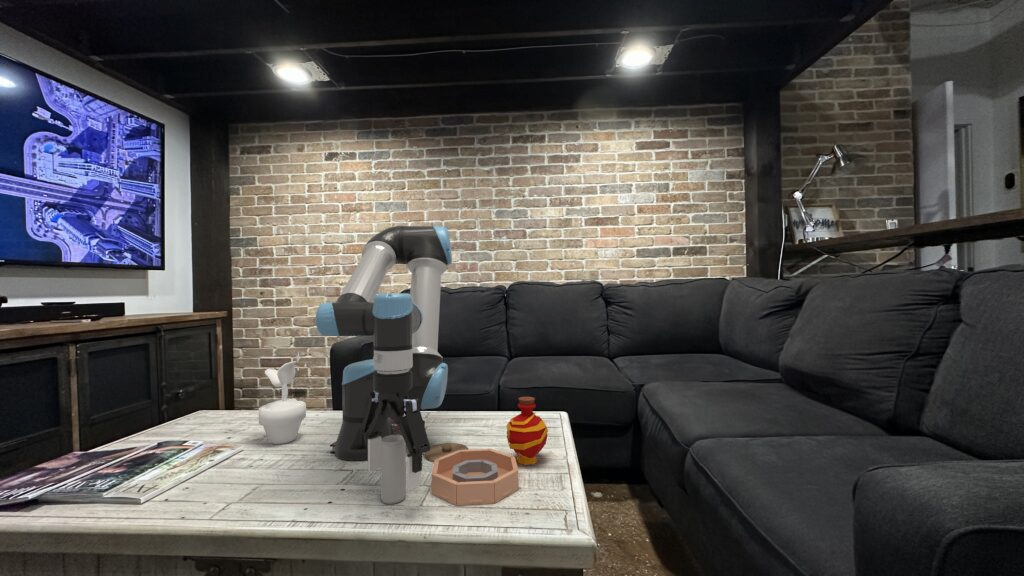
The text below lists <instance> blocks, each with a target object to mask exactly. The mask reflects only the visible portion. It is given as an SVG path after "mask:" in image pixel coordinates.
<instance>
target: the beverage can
mask: <svg viewBox="0 0 1024 576" xmlns="http://www.w3.org/2000/svg"><path fill="white" fill-rule="evenodd" d="M381 441H382V442H381V468H380V500H381V501H382V502H383V503H384V504H387V505H395V504H398V503H400V502H402V501H404V499H405V498H406V496H407V453H406V451H407V445H406V443H405V441H404V438H403V436H402V434H395V435H389V436H385V437H383V438H382V439H381Z"/></svg>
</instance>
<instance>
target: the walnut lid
mask: <svg viewBox="0 0 1024 576" xmlns="http://www.w3.org/2000/svg"><path fill="white" fill-rule="evenodd" d="M458 450H470V449H469V447H468V446H467V445H465V444H463V443H459V442H458V443H457V442H444V443H437V444H436V443H435V444H433V445H431V446H430V451H428V452H425V453H424V459H425V460H426V461H428V462H430V463H433V464H434V461H435V460H436V459H438V458H441V457H443V456H446V455H448V454H451V453H453V452H456V451H458Z"/></svg>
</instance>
